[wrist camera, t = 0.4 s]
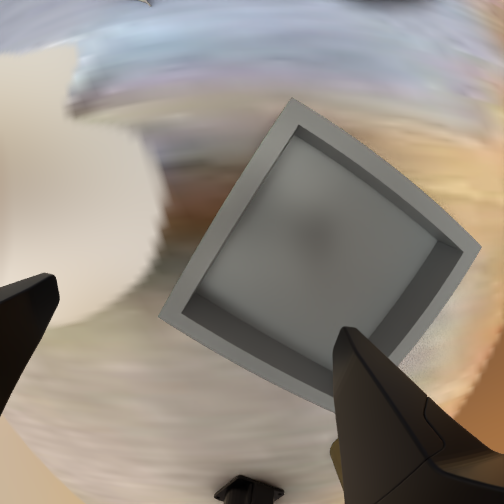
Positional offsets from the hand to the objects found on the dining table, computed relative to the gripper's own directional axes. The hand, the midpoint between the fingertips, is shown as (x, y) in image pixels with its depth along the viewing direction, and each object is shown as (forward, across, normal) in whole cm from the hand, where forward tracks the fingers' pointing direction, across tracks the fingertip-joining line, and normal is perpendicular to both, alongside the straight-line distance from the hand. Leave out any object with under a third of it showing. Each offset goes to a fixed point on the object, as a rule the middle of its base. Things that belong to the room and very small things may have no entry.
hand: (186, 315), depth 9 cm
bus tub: (+14, -7, +4) cm, 16 cm away
